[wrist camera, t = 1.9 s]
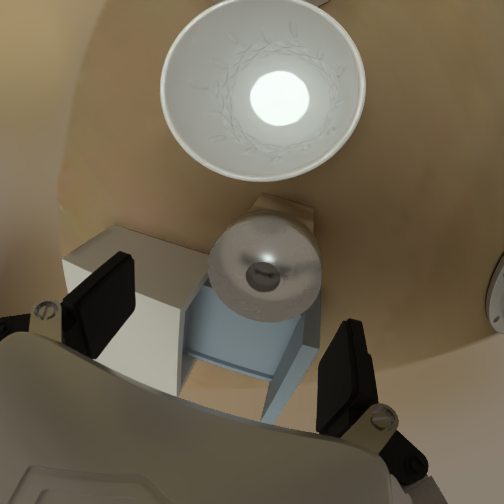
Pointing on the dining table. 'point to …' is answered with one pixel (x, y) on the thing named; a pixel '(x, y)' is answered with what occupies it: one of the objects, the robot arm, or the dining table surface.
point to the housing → (147, 304)
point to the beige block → (285, 208)
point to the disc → (266, 266)
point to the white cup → (262, 88)
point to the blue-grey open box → (253, 345)
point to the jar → (313, 0)
